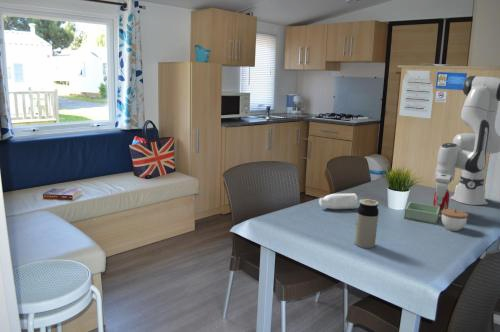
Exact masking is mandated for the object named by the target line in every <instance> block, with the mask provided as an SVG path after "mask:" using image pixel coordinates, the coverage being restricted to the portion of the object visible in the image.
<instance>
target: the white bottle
mask: <svg viewBox="0 0 500 332" xmlns="http://www.w3.org/2000/svg"><path fill="white" fill-rule="evenodd" d="M318 204H319V206H320V207H321V208H323V207H325V208H326V209H330V210H352V209H353V210H355V209H356V208H358V207H357V206H358V196H357V194H356V193H355V192H354V193H331V194H328V195H327V194H326V196H324V197H320V198H318Z"/></svg>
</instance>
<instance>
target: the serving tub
mask: <svg viewBox="0 0 500 332" xmlns="http://www.w3.org/2000/svg"><path fill="white" fill-rule="evenodd" d="M439 211H440V207H439V206H433V204H427V203H422V202H420V203H419V202H415V201H409V202H408V204H407V205H406V207H405V208H404V213H403V214H404V216H403V219H405V220H411V221H416V222H421V223H428V224H433V225H437V222H438V219H439V216H440V214H439Z"/></svg>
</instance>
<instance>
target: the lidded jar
mask: <svg viewBox="0 0 500 332" xmlns="http://www.w3.org/2000/svg"><path fill="white" fill-rule="evenodd" d="M468 216H469V214H468V213H467V212H465V211H463V210H458V209H456V208H453V209H452V208H448V209H444V210H442V214H441V223H442V225H443V226H444V228H445V229H446V230H448V231H452V232H459V231H460V230H462V229H463V228H464V227H465V226H466V224H467V221H468Z"/></svg>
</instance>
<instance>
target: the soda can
mask: <svg viewBox="0 0 500 332" xmlns="http://www.w3.org/2000/svg"><path fill="white" fill-rule="evenodd" d="M450 197H451V194H450V192H449V189H448V190H447V191H446V194H445V196H444V198H443V200H442V204H438V197H437V196H436V190H435V191H434V196H433V203H432V205H433V206H439V207H440V211H439V215H442V210H444V209H449V203H450Z"/></svg>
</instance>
